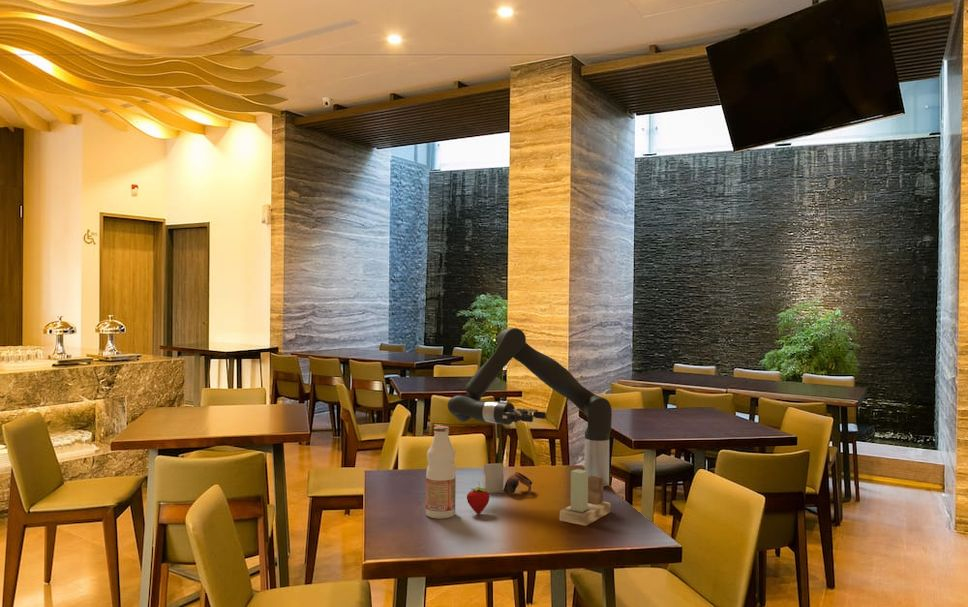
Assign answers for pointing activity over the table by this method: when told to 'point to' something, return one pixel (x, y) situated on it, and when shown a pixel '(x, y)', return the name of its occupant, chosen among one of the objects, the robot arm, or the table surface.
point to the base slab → (589, 505)
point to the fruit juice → (440, 476)
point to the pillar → (579, 490)
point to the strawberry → (478, 499)
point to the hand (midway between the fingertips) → (539, 417)
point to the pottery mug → (516, 483)
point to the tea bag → (493, 477)
